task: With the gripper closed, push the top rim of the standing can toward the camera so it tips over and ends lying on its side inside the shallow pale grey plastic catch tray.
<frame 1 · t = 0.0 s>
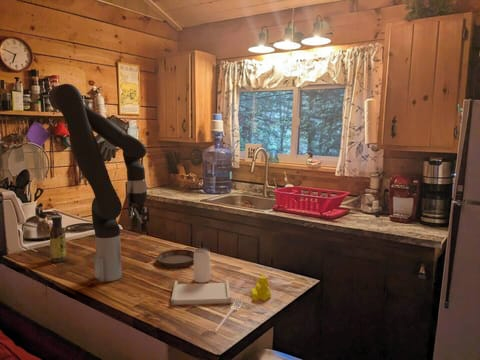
hand: (139, 229, 158), 17 cm above the counter, tool pointing down, fingers open, 8 cm apart
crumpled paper: (260, 297, 136), on the counter
fork: (228, 317, 122), on the counter
plant saucer: (177, 262, 170), on the counter
can: (202, 280, 150), on the counter
sauce bottle: (58, 260, 170), on the counter
catch tray: (201, 294, 137), on the counter
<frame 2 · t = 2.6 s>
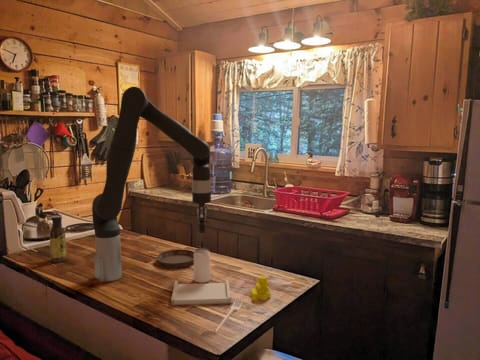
hand: (202, 232, 157), 16 cm above the counter, tool pointing down, fingers closed
nothing on the counter moved.
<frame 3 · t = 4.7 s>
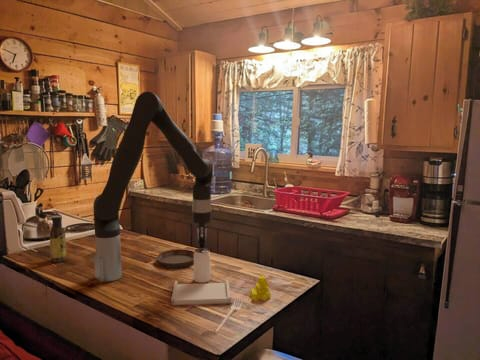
hand: (202, 252, 153), 10 cm above the counter, tool pointing down, fingers closed
can: (202, 280, 150), on the counter, touching gripper
everything else where it was.
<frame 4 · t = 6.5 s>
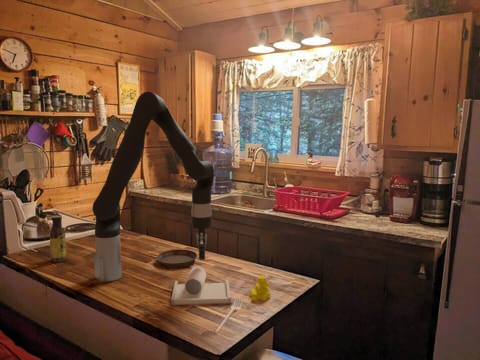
hand: (202, 259, 145), 10 cm above the counter, tool pointing down, fingers closed
can: (198, 274, 146), point 3 cm above the counter, touching catch tray
everything else where it was.
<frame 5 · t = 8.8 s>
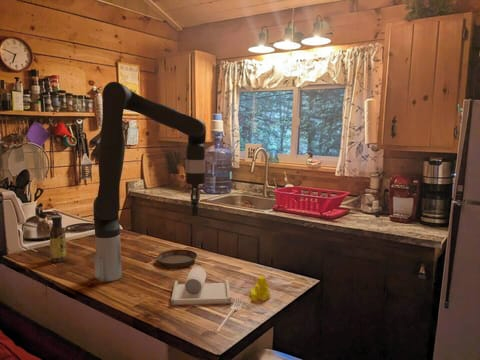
hand: (195, 215, 149), 25 cm above the counter, tool pointing down, fingers closed
nothing on the counter moved.
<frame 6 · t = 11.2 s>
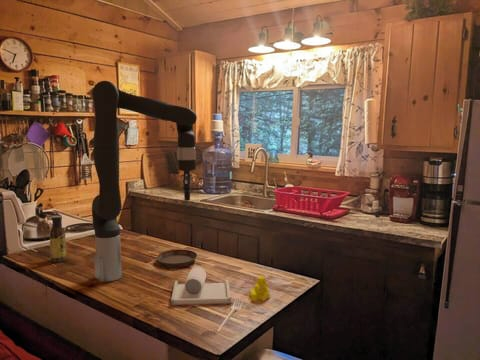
hand: (187, 200, 159), 29 cm above the counter, tool pointing down, fingers closed
nothing on the counter moved.
at the end: can tilted 89°; can touching catch tray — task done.
